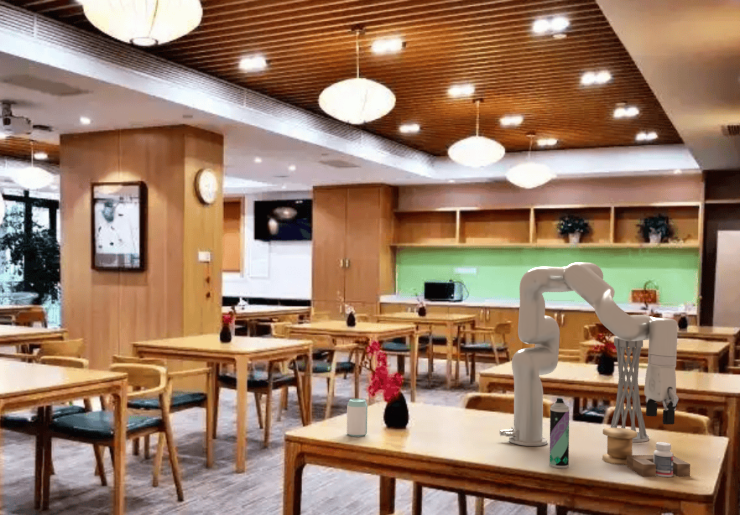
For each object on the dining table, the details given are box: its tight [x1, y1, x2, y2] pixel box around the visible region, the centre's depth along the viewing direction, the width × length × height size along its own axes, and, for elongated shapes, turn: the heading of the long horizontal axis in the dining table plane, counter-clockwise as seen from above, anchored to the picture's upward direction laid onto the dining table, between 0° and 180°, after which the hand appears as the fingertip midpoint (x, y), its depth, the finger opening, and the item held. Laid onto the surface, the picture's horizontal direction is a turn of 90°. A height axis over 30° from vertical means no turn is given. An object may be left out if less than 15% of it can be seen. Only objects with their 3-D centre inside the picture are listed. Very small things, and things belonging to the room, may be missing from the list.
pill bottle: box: [653, 441, 674, 478], centre depth 203 cm, size 5×5×9 cm
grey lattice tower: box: [610, 335, 650, 443], centre depth 249 cm, size 14×13×35 cm
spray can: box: [549, 397, 570, 469], centre depth 210 cm, size 6×6×20 cm
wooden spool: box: [601, 427, 638, 466], centre depth 217 cm, size 10×10×9 cm
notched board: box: [626, 454, 691, 478], centre depth 206 cm, size 14×10×4 cm
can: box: [346, 398, 368, 437], centre depth 245 cm, size 7×7×12 cm
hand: (659, 420), depth 204 cm, fingers open, 9 cm apart
